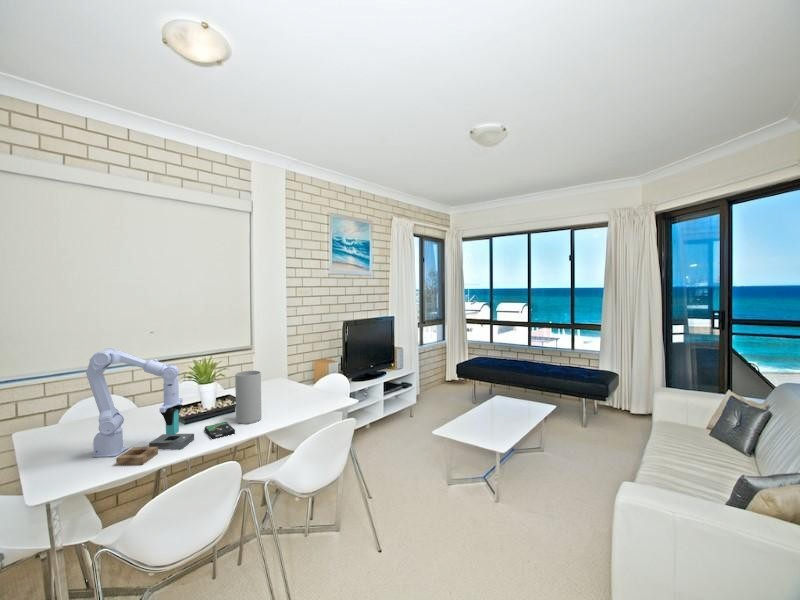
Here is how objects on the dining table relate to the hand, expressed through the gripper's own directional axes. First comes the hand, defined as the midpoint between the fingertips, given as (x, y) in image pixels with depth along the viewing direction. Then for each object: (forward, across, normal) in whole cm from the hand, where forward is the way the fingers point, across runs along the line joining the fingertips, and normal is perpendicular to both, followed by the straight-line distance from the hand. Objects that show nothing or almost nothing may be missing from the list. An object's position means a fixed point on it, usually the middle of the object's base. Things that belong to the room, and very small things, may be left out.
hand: (172, 423), depth 166 cm
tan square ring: (+10, -14, +6) cm, 18 cm away
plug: (+4, 0, 0) cm, 5 cm away
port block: (+10, 0, 0) cm, 10 cm away
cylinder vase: (+10, +30, -23) cm, 39 cm away
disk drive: (+10, +14, -15) cm, 23 cm away
